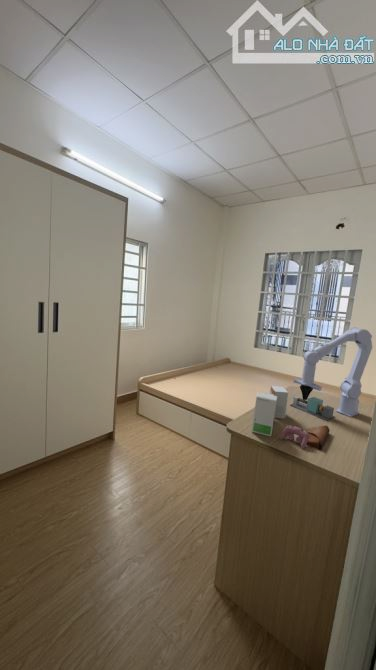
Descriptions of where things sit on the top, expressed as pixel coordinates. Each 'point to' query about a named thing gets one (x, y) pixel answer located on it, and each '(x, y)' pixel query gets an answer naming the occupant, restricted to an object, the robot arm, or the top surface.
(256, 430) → the skincare box
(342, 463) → the top surface
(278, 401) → the small box
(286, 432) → the pink lumpy irregular piece
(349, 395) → the robot arm
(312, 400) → the sleeve
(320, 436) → the sunglasses case
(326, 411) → the linear slider
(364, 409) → the top surface
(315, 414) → the grey base plate
